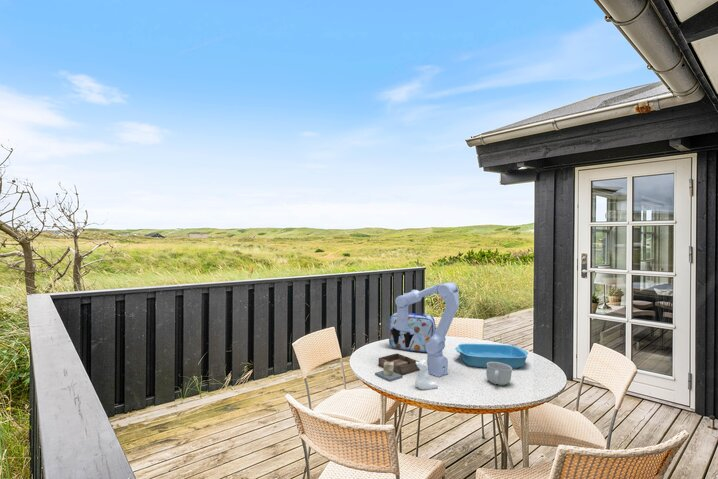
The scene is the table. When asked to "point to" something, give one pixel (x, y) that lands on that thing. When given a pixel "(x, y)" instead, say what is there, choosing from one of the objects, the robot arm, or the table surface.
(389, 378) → the slate mat
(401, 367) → the walnut crate
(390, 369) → the metal block
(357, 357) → the table surface
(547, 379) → the table surface
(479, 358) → the casserole dish
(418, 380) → the white creature statuette
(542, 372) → the table surface
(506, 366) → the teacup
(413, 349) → the lunch box
